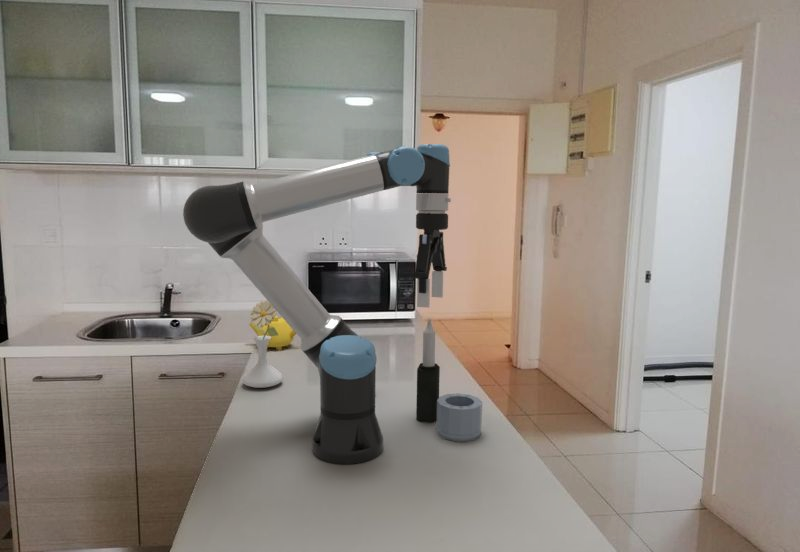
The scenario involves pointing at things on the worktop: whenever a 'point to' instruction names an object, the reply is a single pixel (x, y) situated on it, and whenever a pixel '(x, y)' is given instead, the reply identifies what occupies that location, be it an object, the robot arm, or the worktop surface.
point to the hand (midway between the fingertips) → (430, 301)
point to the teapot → (282, 329)
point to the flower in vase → (263, 349)
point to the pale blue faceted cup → (459, 417)
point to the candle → (428, 379)
